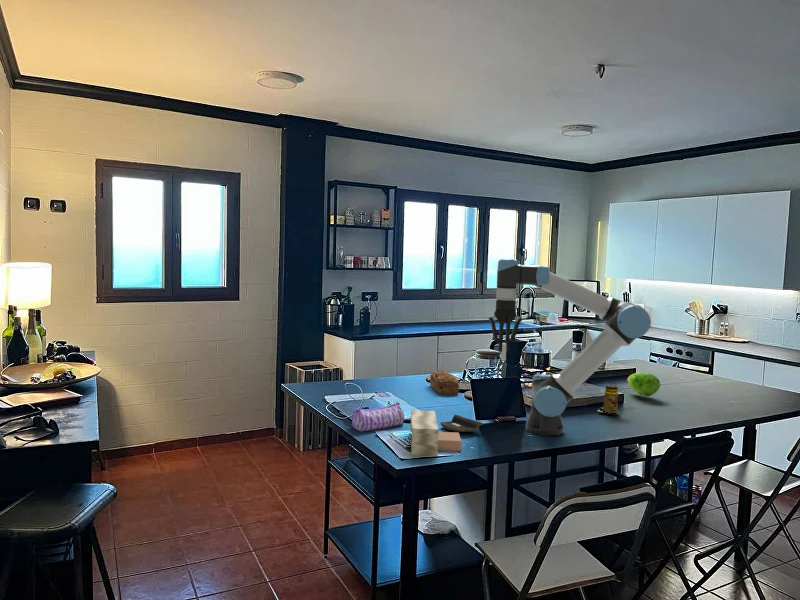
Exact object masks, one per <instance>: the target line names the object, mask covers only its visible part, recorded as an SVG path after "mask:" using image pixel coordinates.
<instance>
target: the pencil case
mask: <svg viewBox="0 0 800 600" xmlns="http://www.w3.org/2000/svg"><path fill="white" fill-rule="evenodd" d="M353 410H354V411H353V413H352V416H351V417H352V418H351V423H352V424H351V426H352V428H353V429H355V430H357V431H359V432H367V431H368V432H370V431H374V430H380V429H387V428H391V427H395V426H400V425H403V423H404V421H405V414H404V411H403V409H402V407H401V404H400V402H396V403H395V402H394V403H392V404H390V405H387V406H384V407H383V406H381V407H378V408H372V409H360V408H353Z"/></svg>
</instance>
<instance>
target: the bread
mask: <svg viewBox="0 0 800 600" xmlns="http://www.w3.org/2000/svg"><path fill="white" fill-rule="evenodd" d="M429 379H430V387H431V388H432V389H433V390H434V391H435V392H436V393H437V394H438V395H443V396H444V395H445V396H455V395H456V396H457V395H459V391H460V390H459V388H460V384H459V381H458V379H457V377H455V376H454V375H453V374H451V373H448V371H444V370H435V371H433V372H432V373H430V377H429Z"/></svg>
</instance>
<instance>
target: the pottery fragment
mask: <svg viewBox="0 0 800 600" xmlns="http://www.w3.org/2000/svg"><path fill="white" fill-rule="evenodd" d="M440 426H441V427H442V428H444V429H447V430H451V431H452V432H453V431H454V432H466V433H471V432H472V433H474V432H477V431H478V430H479V427H480V426H483V422H482V421H480V420H475V419H471V418H468V417H464V416H462V415H458V414H454V415H453V417H452V420H450V421H444V422H442V421H441V422H440Z"/></svg>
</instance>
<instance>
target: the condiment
mask: <svg viewBox="0 0 800 600" xmlns="http://www.w3.org/2000/svg"><path fill="white" fill-rule="evenodd" d="M618 388H619V387H618V386H617V385H614V384H613V385H612V384H607V385H605V388H604V389H605V390H604V395H603V396H604V397H603V407H601V408H602V409H604V411H605V412H603V411H600V410H599V409H598V410H597V412H600V413H606V412H608V413H607V414H611V413H617V410H618V406H619V392H618ZM617 414H618V413H617Z"/></svg>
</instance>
